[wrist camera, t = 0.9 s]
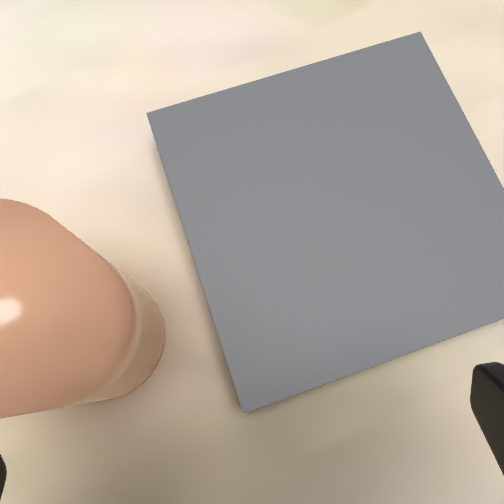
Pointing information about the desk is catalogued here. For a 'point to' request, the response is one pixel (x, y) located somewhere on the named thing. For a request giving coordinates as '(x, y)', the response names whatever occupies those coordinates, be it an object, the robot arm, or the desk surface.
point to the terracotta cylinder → (67, 319)
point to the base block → (335, 216)
